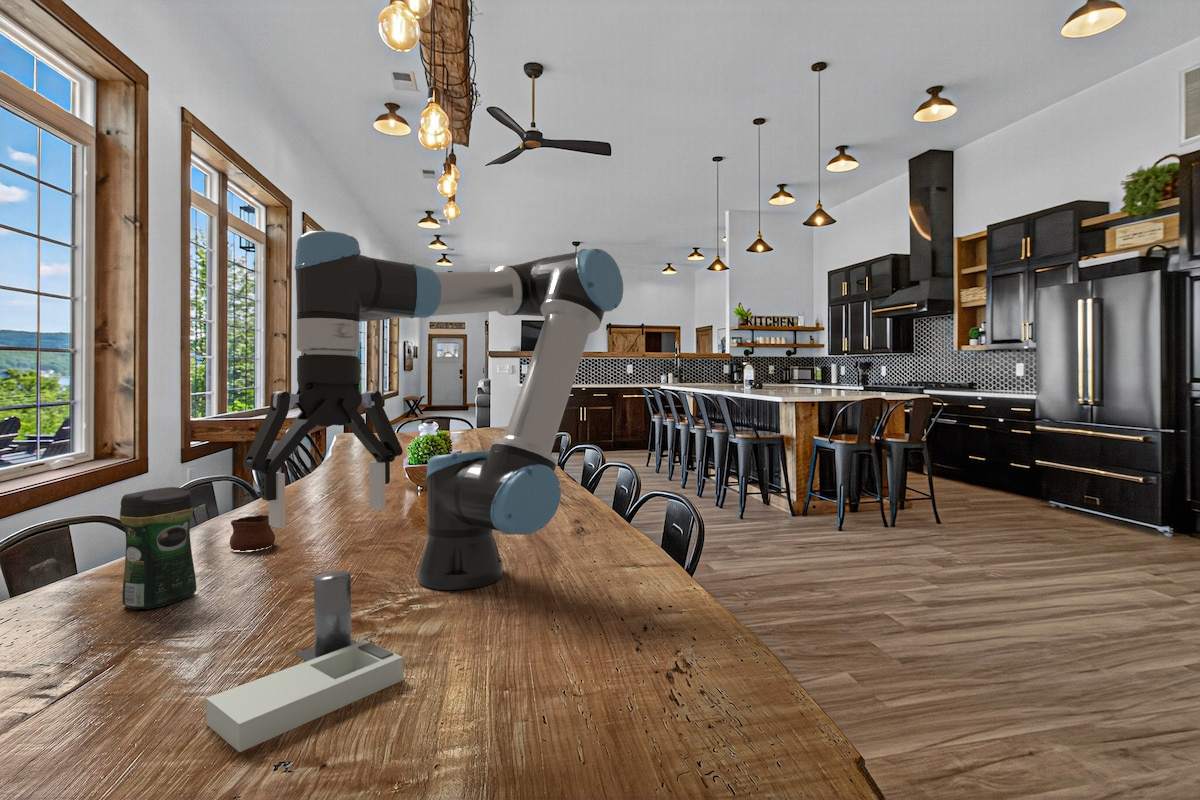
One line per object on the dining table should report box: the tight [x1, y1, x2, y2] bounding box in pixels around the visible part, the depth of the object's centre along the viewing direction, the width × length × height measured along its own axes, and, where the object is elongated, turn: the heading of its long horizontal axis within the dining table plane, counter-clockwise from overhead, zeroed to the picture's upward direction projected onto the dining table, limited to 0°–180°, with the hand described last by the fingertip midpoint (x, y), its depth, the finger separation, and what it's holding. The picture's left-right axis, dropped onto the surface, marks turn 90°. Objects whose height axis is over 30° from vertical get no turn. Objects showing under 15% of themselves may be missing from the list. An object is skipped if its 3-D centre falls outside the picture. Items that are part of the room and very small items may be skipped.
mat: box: [294, 638, 359, 662], centre depth 80 cm, size 7×7×1 cm
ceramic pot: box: [229, 514, 276, 551], centre depth 133 cm, size 18×18×7 cm
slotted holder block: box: [205, 639, 404, 753], centre depth 68 cm, size 8×18×3 cm, turn 142°
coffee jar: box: [119, 486, 197, 611], centre depth 100 cm, size 10×8×19 cm
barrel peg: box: [313, 570, 352, 658], centre depth 80 cm, size 4×4×10 cm
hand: (330, 517), depth 80 cm, fingers open, 13 cm apart
